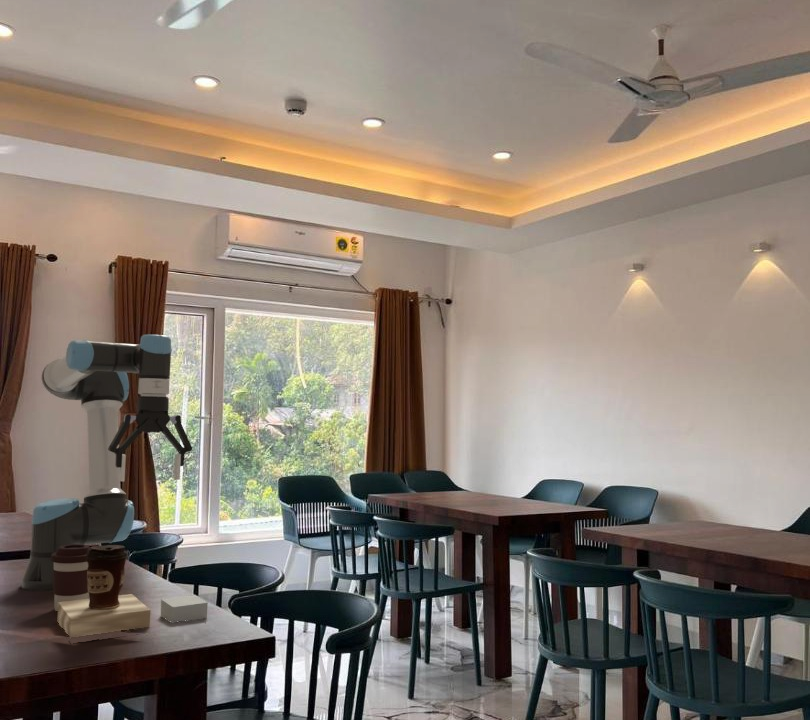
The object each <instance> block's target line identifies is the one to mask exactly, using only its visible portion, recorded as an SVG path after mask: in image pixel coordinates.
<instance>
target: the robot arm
mask: <svg viewBox="0 0 810 720" xmlns="http://www.w3.org/2000/svg"><path fill="white" fill-rule="evenodd" d="M172 351H173V350H172V339H171V337H170V336H168V335H163V334H142V335H141V336H140V343H139V344H138V343H137V344H136V343H135V344H134V343H121V342H118V343H117V342H104V341H93V340H91V341H90V340H86V339H83V340H71V341H69V343H68V346H67V348H66V354H65V356H64V357H63V358H60V359H59V358H57V359H54V360H52V361H50V362H49V363H48V364H46V366H45V367H44V368H43V370H42V371H41V381H42V384H43V387H44V388H45V390H46V391H48V392H49V393H50V394H51V395H53V396H55V397H57V398H59V399H64V400H68V401H70V400H71V401H80V402H81V408H82V410H84V411H85V412H86V417H87V418H86V419H87V420H86V421H87V422H86V423H87V424H86V425H87V455H88V456H87V458H88V492H87V493H86V494H85V495H84V497H83V503H82V502H80V500H79V499H78V498H75V497H73V498H72V497H70V498H58V499H53V500H48V501H44V502H40V503H38V504H37V505H36V506H35V507H33V511H32V518H31V521H30V523H31V533H30V534H31V538H30V554H29V555H30V556H29V561H28V563H27V566H26V568H25V571H24V574H23V576H22V578H21V589H23V590H26V589H27V590H26V591H53V569H54V562H52V561H51V554H52V553H55V552H57V550H58V548H59V547H60V546H64V545H71V544H84V545H93V544H94V545H95V544H103V543H104V544H105V543H106V544H107V543H109V544H112V543H116V542H122V541H124V540H126V539H127V538H128V537H129V535H130V534H131V531H132V530H133V525H134V519H135V507H134V502H133V501H132V500H129V499H127V493H126V492H125V491H124V490H123V489H122V488H121V482H125V480H126V461H127V460H126V458H127V456H126V454H125V453H124V452H126V450H127V449H128V448H129V447H130V446H131V444H132V443H133V442H134V441H135V440H136V439H137V438H138V437H139V436H140V435H141V434H142V433H147V434H149V433H162V434H163V435H164V437H165V438H166V439H167V441H168V442H169V443H170V444H171V445H172V447H174V449H175V450H176V451H177V452H178V453H177V452H176V453H174V465H173V468H174V469H173V480H176V481H178V480H181V467H183V466H184V465H185V454H186V453H188V452H191V451H193V447H192V445H191V443H190V439H189V438H188V436H187V433H186V431H185V429H184V426H183V425H182V417H181V415H179V414H175V415H169V403H170V398H169V397H168V395H170V381H171V380H170V379H171V377H170V376H171V364H172V363H171V361H172V360H171V359H172ZM127 373H128V374H129V373H131V374H132V373H133V374H138V386H137V393H138V395H139V396H138V397H137V408H136V415H132V414H131V415H130V414H129V413H128V414H126V413H125V414H124V415H123V419H122V423H121V425H120V426H119V417H118V416H119V414H118V411H119V410H120V409H121V408H122V407H123V402H125V401H126V400H127V399H128V397H129V393H130V392H129V390H130V382H129V377H128V374H127ZM134 421H135V422H136V424H137V426H136V427H135V428H134V429H133V431H132V432H131V433H130V434H129V436H128V437H127V438H126V439H125V440H124V441H123V442H122V443H120V442H121V441H122V439H123V437H124V436H125V434H126V432H127V430H128V428H129V427H130V424H133V422H134ZM169 422H171V424H172V425H174V428H175V430H176V433H177V434H178V437H179V439H180V442H181V443H180V442H179V441H178V440H177V438H176V437H175V435H174V434H173V433H172V432H171V430H170V429H169V428H168V427H167V426H168V424H169ZM182 445H183V446H182Z"/></svg>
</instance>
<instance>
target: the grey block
mask: <svg viewBox="0 0 810 720" xmlns="http://www.w3.org/2000/svg"><path fill="white" fill-rule="evenodd" d="M161 616H162V617H164V618H166V619H167V620H169V621H171V622H177V621H185V620H186V621H185V622H188V621H187V620H192V621H195V620H194V619H199V620H204V619H203V618H206V619H207V618H208V601H206V600H205V599H202V598H200V596H197V595H196V594H194V595H185V596H177V597H170V598H163V599H162V598H161V601H160V617H161ZM162 617H161V618H162ZM164 618H163V619H164ZM166 619H165V620H166ZM167 620H166V621H167ZM169 621H168V622H169ZM171 622H170V623H171Z"/></svg>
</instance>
